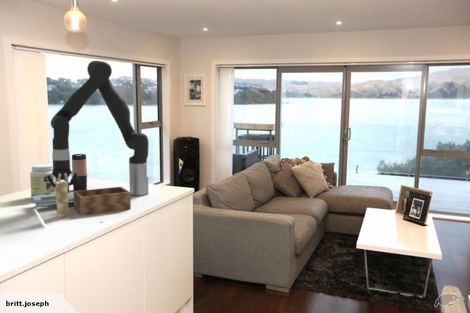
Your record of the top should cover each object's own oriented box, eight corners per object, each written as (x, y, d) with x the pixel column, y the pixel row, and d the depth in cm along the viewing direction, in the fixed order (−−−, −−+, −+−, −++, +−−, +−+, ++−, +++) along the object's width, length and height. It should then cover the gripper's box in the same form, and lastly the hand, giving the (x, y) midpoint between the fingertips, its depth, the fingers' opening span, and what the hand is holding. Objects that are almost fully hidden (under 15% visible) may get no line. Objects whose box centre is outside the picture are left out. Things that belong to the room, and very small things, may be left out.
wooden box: (121, 204, 207) (120, 186, 206) (130, 211, 195) (130, 192, 194) (74, 210, 195) (73, 191, 194) (81, 217, 184) (80, 197, 182)
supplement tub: (47, 201, 212) (45, 167, 209) (25, 199, 214) (24, 166, 212) (62, 195, 224) (60, 164, 221) (41, 194, 226) (39, 163, 224)
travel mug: (90, 189, 240) (89, 154, 237) (81, 192, 233) (80, 156, 230) (79, 188, 243) (77, 153, 240) (69, 190, 235) (68, 155, 233)
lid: (82, 193, 213) (81, 183, 213) (89, 199, 201) (89, 188, 200) (31, 198, 201) (31, 187, 201) (36, 205, 189) (35, 194, 188)
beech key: (67, 217, 184) (65, 181, 182) (69, 219, 181) (67, 182, 179) (57, 218, 182) (55, 181, 180) (59, 220, 179) (57, 183, 177)
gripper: (46, 160, 192) (48, 197, 195) (78, 158, 200) (79, 194, 202) (43, 158, 198) (45, 194, 201) (75, 156, 206) (76, 191, 208)
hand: (62, 194), depth 201 cm, fingers closed on lid, 3 cm apart
